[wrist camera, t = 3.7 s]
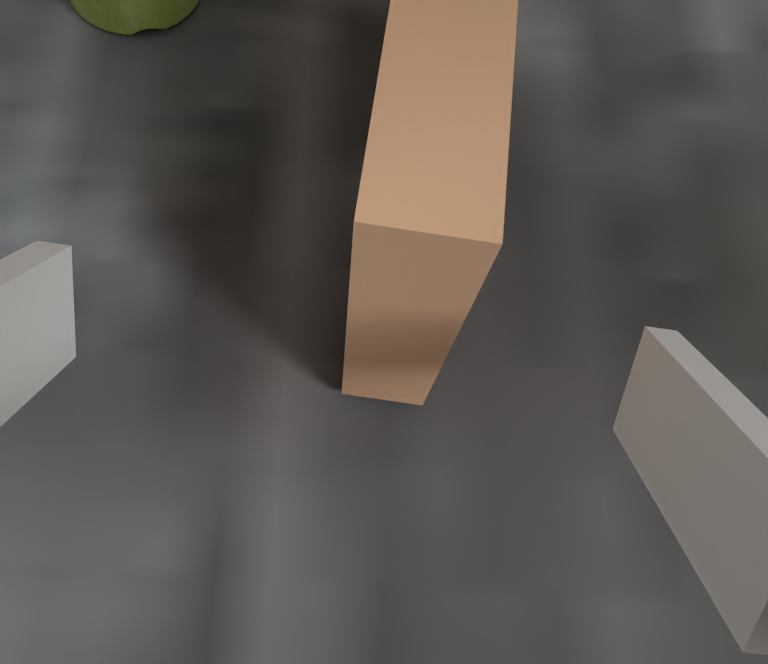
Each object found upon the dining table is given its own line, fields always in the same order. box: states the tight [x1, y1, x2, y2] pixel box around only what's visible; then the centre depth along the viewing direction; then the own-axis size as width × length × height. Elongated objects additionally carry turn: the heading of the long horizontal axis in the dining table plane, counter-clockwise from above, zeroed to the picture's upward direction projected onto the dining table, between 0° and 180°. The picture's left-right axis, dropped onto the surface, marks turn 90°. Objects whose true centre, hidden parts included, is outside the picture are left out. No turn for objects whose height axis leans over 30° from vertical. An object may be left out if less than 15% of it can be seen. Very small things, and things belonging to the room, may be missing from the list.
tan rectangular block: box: [342, 0, 518, 405], centre depth 20 cm, size 3×7×12 cm, turn 173°
